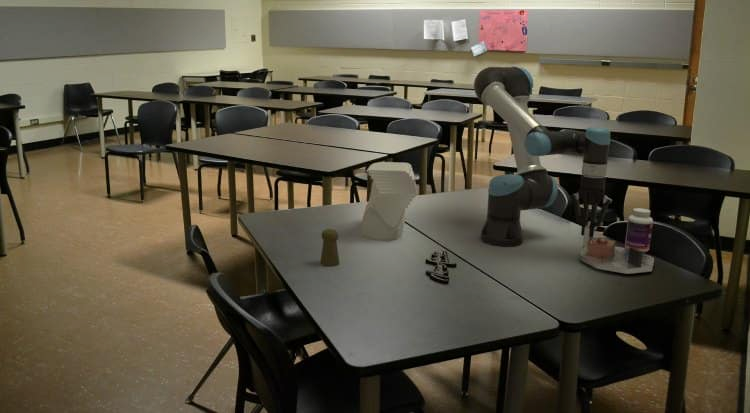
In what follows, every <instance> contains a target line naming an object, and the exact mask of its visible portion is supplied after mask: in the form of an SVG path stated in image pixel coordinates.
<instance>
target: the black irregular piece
mask: <svg viewBox="0 0 750 413" xmlns="http://www.w3.org/2000/svg"><path fill="white" fill-rule="evenodd" d="M424 263H425V264H427V265H430V266H434V270H429V269H427V270H425V275H426V276H428V277H429V279H430V280H432V281H433V282H435V283H439V284H440V285H449V283H450V276H449V270H448V268H449V269H451V268H452V269H456V268H457V265H458V264H457V263H456V262H455V263H454V262H450V259H449V255H448V252H447V250H443V251H442V254H441V253H439V252H438V251H436V250H435V251H434V252H433V253H431V257H430V259H428V258H426V259H425V262H424Z"/></svg>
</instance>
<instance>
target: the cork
mask: <svg viewBox="0 0 750 413" xmlns="http://www.w3.org/2000/svg"><path fill="white" fill-rule="evenodd" d="M321 238H322V240H323V242H322V248H321V255H320V261H319V262H320V263H319V264H320V265H321V266H322V267H331V268H332V267H336V266H339V265H340V259H339V251H338V243H337V242H338V239H339V232H338V231H337V230H336V229H332V228H327V229H324V230H322V232H321Z"/></svg>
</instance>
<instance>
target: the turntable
mask: <svg viewBox="0 0 750 413" xmlns="http://www.w3.org/2000/svg"><path fill="white" fill-rule="evenodd" d="M582 248H583V247H582ZM578 258H579V259H578V260H580V261H582V262H583V263H585V264H587V265H590V266H591V267H593V268H595V269H598V270H603V271H608V272H609V271H610V272H615V273H621V274H626V275H627V274H629V275H630V274H638V273H640V274H641V273H648V272H652V271H653V267H654V263H655V262H654V261H655V257H653V256H651V255H648V254H647V253H645V252H643V251H640V250H638V249H636V248H634V247H630V249H629V248H625V247H621V246H616V245H615V251H614V254H613V255H612V256H611V257H610V258H605V257H600V256H595V255H589V254H588V247H584V248H583V249H581V251H580V253H579V257H578Z"/></svg>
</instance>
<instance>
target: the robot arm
mask: <svg viewBox="0 0 750 413" xmlns="http://www.w3.org/2000/svg"><path fill="white" fill-rule="evenodd" d="M533 88H534V80H533V76H532V74H531V73H530V72H529V71H528V69H526V68H523V67H519V66H489V67H485V68H483V69H482V70H480V71H479V72H478V73H477V75H476V76H475V78H474V81H473V91H474V93H475V95H476V97H477V98H478V100H479V101H480V102H481V103H482V104H483V105H484V106H488V107H490V108H491V109H492V110H493V111H494V112H495V113H497V115H498V116H499V117H501V119H502V120H503V121H504V122H506V124H507V130H508V134H509V137H510V144H511V148H512V152H513V156H514V161H515V164H516V169H517V171H516V173H515V174H513V173H512V174H511V173H509V174H505V173H504V174H500V175H496V176H494V177H492V178H491V179H490V180H489V186H488V189H487V190H488V191H487V193H488V196H487V211H486V212H487V213H486V219H485V222H484V224H483V226H482V229H481V232H480V239H479V240H481V241H482V242H483V243H486V244H488V245H492V246H496V247H497V246H498V247H517V246H519V245H522V244H523V243H524V232H523V230H522V225H521V211H526V210H527V211H528V210H537V209H538V210H540V209H543V208H548V207H551V205H553V204H554V203H555V200H556V198H557V196H558V192H559V191H558V183H557V180H556V178H554V177H553V176H552V175H548V171H547V167H546V168H545V167H544V166H542V164H541V159H540V157H544V156H545V157H546V156H555V155H567V154H572V155H573V154H574V155H580V156H582V166H581V174H582V175H581V176H580V185H579V186H580V187H579V189H578V190H577V192H576V193H572V194H571V195H570V198H571V201H572V203H573V209H574V215H575V222H576V224H578V225H580V226H581V233H580V235H581V236H583V242H582V247H583V246H585V247H588V246H589V242H590V237H593V238H594V235H595V231H594V229H595V227H597V228H598V227H601V226H600V225H601V223H602V222H603V220H604V217H605V215H606V212H607V210H608V207H609V205H610V204H611V203H612V202H613V199H612V198H609V197H608V196H607V195H606V191H605V190H606V189H605V187H606V180H607V179H606V177H605V176H607V170H608V169H607V168H608V158H609V151H610V144H611V130H610V129H609V128H606V127H598V126H595V127H594V126H591V127H587V128H586V130H585V131H579V130H574V129H567V128H566V129H565V128H564V129H561V130H559V131H549V130H548V129H547V128H546V127H545V126H544V125H543V124H542V123H541V122H539V120H537V119H536V118H535V117H534V116H533V114H531V113H530V111H529V108H528V103H529V101H530V100H531V97H530V96H531V95H532V93H533V91H534V90H533ZM579 199H581V200H582V203H583V205H582V206H583V209H582V211H581V206H580V200H579ZM602 200H603V201H602ZM601 201H602V203H603V204H602V207H601V210H600V212H599V214H598V218H597V212H598V204H599V203H600V202H601ZM590 206H591V207H590ZM590 208H591V209H590ZM589 210H590V211H589ZM589 212H590V220H588V219H589ZM596 220H597V222H596ZM589 221H590V226H588V225H587V224H588V222H589ZM595 222H596V223H595Z"/></svg>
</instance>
